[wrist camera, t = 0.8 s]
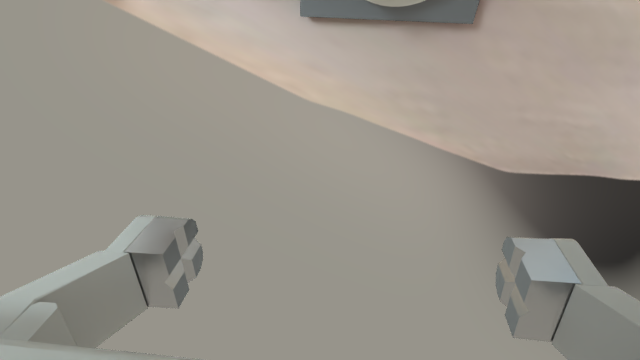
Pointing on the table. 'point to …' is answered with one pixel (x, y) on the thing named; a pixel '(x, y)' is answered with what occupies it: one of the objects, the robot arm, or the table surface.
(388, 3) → the dial
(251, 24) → the table surface
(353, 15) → the dial housing
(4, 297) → the robot arm
